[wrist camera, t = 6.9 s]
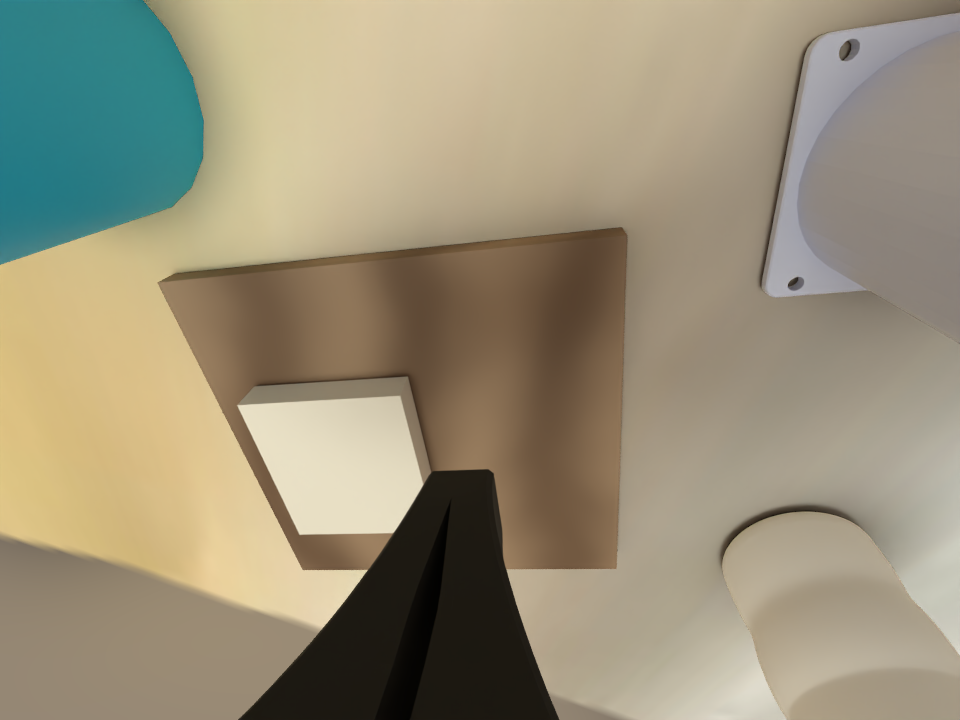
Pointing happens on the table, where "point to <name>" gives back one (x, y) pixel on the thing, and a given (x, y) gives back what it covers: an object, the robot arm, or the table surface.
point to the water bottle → (838, 624)
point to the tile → (340, 451)
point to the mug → (90, 120)
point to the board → (445, 372)
